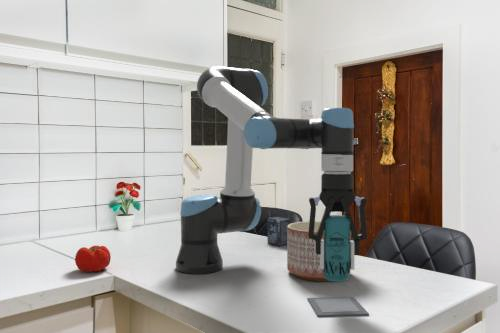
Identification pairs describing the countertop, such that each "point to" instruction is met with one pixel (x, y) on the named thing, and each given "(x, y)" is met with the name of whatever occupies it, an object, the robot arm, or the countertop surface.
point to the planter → (304, 252)
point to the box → (277, 231)
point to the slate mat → (337, 306)
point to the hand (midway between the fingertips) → (337, 267)
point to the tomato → (92, 258)
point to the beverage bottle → (337, 246)
